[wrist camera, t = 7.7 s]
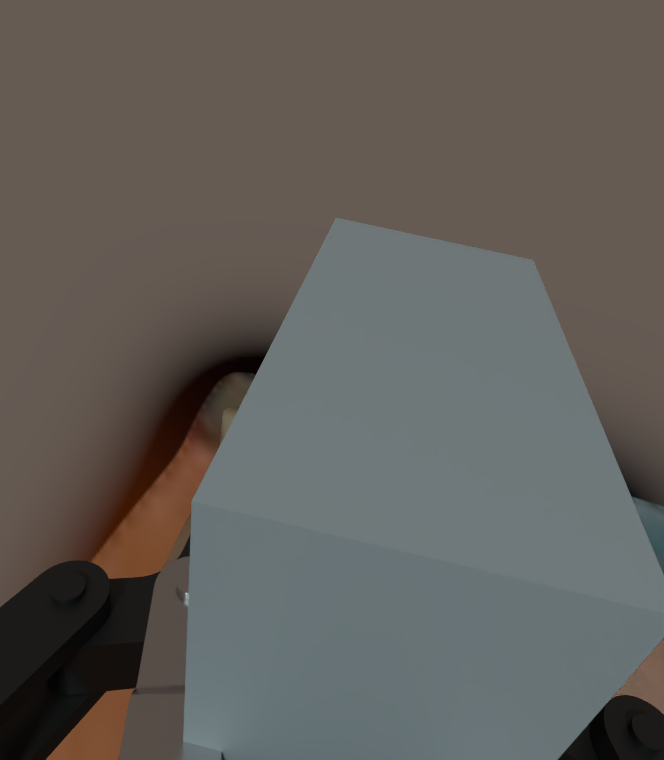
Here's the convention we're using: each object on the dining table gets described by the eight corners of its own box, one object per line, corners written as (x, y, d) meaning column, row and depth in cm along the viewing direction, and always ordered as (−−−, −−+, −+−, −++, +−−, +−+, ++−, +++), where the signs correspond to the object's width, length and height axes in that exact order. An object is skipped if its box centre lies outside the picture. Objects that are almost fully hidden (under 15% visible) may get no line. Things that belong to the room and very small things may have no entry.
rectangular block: (382, 650, 19) (533, 259, 11) (353, 994, 12) (681, 617, 4) (266, 621, 19) (336, 217, 11) (175, 946, 12) (191, 501, 5)
